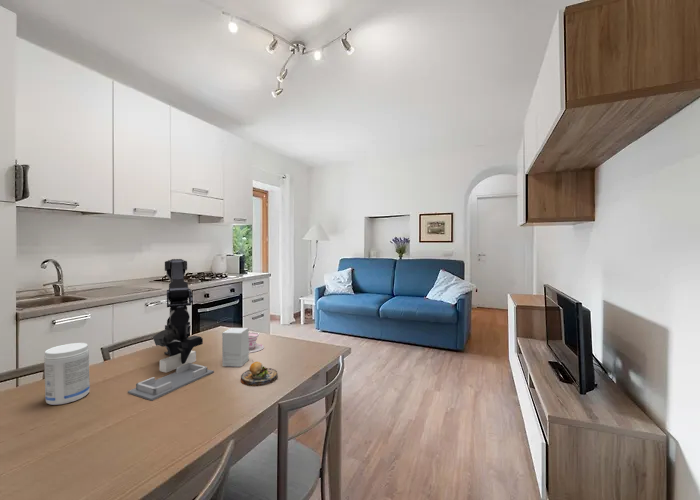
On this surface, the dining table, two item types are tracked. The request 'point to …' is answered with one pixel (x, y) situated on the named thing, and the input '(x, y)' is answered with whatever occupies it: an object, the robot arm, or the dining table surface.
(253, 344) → the teacup
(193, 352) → the slat
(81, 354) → the supplement tub
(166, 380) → the grey bracket base
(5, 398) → the dining table surface
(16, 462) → the dining table surface
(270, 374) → the burger
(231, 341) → the supplement box
